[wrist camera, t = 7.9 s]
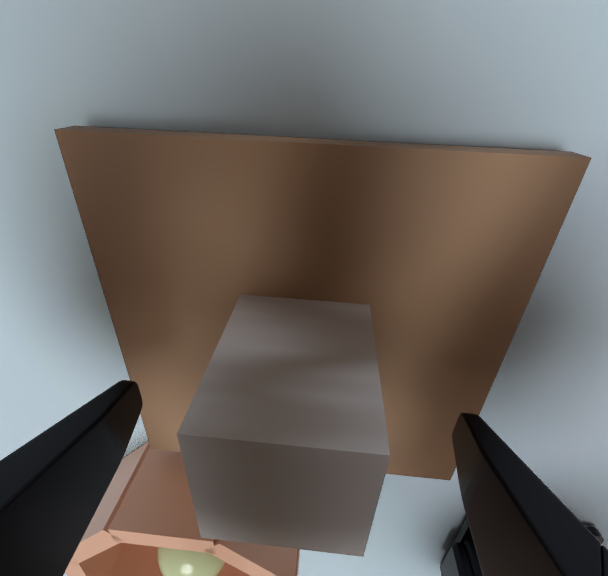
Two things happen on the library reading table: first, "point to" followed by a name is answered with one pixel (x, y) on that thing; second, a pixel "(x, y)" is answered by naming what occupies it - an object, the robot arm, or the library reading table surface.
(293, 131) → the library reading table surface
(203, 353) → the lid
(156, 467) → the bowl
